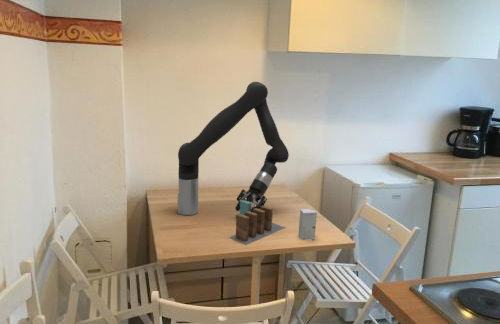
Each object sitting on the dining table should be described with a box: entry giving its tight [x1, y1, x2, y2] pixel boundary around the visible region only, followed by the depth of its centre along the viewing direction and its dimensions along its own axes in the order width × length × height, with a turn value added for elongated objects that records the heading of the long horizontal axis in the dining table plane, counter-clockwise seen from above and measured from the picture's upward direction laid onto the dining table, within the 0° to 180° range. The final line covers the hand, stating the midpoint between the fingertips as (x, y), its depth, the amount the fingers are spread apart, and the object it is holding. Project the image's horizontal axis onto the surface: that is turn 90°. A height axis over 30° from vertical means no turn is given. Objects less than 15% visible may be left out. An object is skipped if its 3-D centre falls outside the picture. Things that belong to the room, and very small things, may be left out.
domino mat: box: [228, 222, 286, 246], centre depth 180 cm, size 26×10×1 cm, turn 138°
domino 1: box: [239, 200, 252, 216], centre depth 190 cm, size 2×5×10 cm, turn 48°
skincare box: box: [297, 208, 318, 241], centre depth 176 cm, size 6×4×12 cm
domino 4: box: [253, 208, 265, 235], centre depth 179 cm, size 2×5×10 cm, turn 48°
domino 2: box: [235, 213, 249, 242], centre depth 172 cm, size 2×5×10 cm, turn 48°
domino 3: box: [245, 211, 257, 238], centre depth 175 cm, size 2×5×10 cm, turn 48°
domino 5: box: [260, 205, 273, 232], centre depth 183 cm, size 2×5×10 cm, turn 48°
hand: (243, 212), depth 189 cm, fingers open, 8 cm apart
